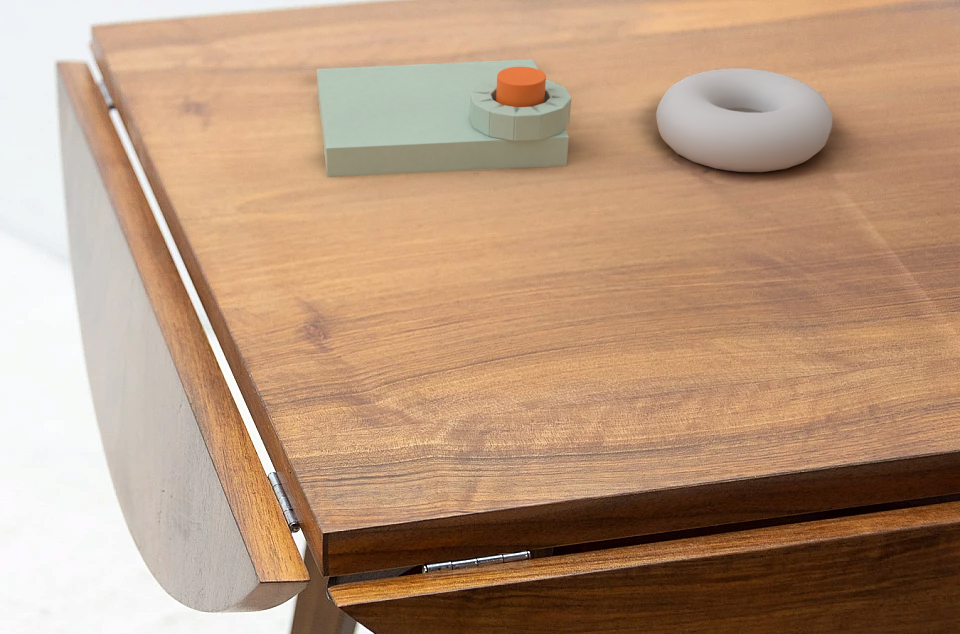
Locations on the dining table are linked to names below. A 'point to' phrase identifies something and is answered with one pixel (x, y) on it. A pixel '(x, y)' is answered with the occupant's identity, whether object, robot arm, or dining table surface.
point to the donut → (744, 120)
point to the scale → (435, 120)
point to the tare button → (520, 87)
